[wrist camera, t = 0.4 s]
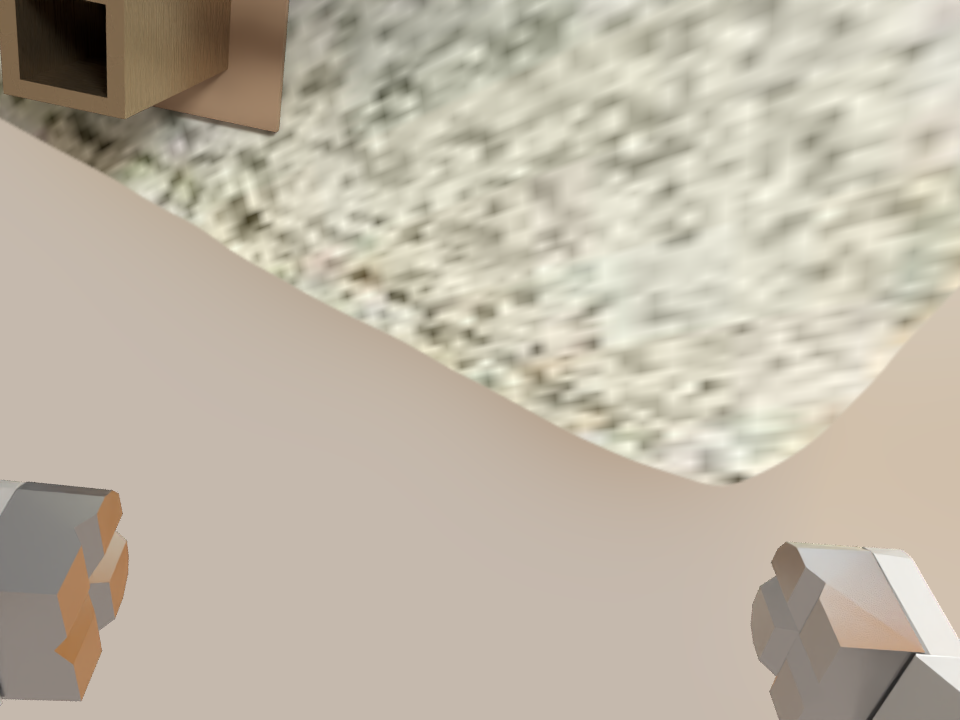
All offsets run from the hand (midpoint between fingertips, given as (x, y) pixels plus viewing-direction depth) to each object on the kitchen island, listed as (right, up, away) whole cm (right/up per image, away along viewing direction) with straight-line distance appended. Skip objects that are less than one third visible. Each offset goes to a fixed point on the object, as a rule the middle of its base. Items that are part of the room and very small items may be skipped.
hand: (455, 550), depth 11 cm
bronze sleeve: (-17, +23, +39) cm, 49 cm away
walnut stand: (-17, +23, +40) cm, 49 cm away
